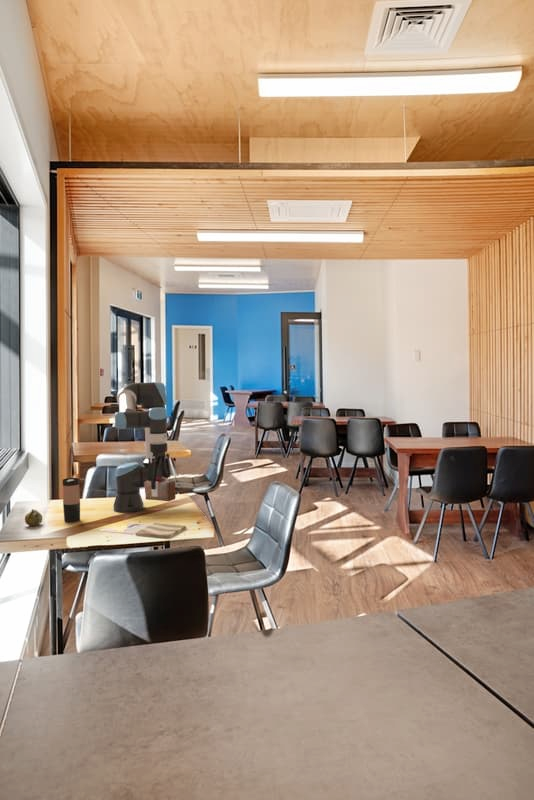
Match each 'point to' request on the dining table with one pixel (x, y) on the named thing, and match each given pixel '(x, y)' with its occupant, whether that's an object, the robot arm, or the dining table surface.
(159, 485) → the food item
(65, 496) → the travel mug
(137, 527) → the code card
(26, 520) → the onion
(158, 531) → the beige cloth
